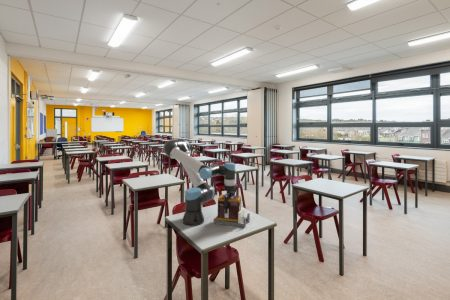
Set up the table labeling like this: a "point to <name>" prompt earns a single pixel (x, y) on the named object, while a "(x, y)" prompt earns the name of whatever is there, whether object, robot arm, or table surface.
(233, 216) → the supplement box
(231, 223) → the grey tray
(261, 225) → the table surface
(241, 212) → the pusher
